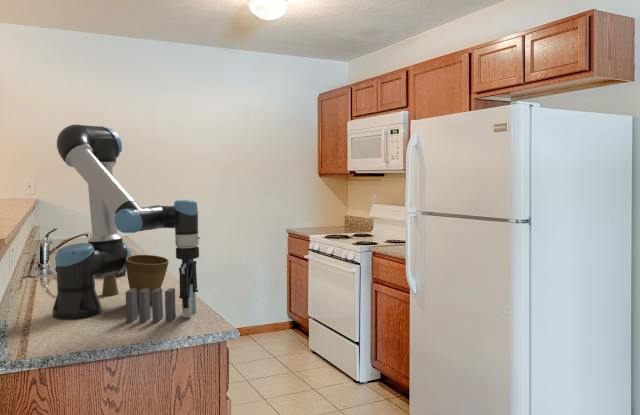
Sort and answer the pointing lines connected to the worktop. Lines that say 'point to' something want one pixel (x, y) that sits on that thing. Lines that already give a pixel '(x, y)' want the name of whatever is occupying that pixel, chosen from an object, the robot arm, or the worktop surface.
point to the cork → (110, 286)
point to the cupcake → (121, 274)
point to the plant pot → (146, 272)
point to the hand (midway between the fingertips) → (189, 314)
